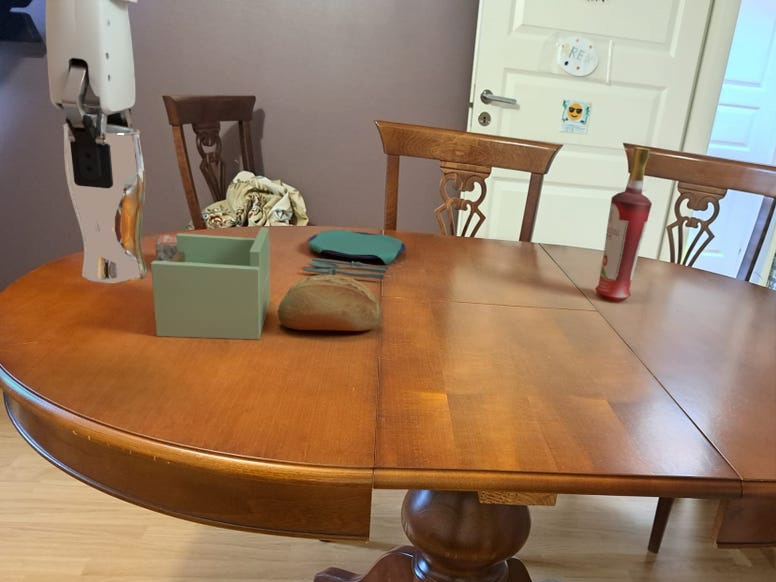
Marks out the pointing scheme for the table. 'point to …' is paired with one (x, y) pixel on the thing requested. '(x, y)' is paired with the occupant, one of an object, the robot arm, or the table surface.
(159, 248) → the packaged product
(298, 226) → the table surface
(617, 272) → the liquor
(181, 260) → the green boxy piece
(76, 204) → the beer glass
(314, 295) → the bread roll
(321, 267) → the cutlery set
